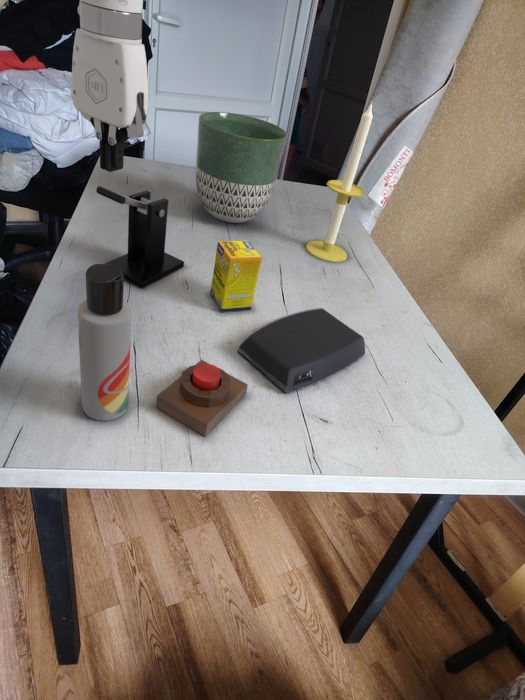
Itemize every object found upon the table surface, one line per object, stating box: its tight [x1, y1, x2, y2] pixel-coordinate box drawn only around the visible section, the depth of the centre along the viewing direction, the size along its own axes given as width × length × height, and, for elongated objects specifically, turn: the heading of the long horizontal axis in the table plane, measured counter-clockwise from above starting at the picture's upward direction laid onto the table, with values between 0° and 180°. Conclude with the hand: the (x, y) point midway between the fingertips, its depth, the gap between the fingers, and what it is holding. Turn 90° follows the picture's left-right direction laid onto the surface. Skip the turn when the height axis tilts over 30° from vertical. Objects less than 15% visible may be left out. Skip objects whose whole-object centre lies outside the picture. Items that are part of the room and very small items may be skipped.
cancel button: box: [192, 363, 221, 391], centre depth 63 cm, size 4×4×2 cm
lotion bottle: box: [77, 263, 132, 422], centre depth 56 cm, size 6×6×20 cm
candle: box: [305, 101, 374, 263], centre depth 103 cm, size 10×10×32 cm
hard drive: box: [236, 307, 366, 393], centre depth 78 cm, size 13×19×4 cm
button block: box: [155, 359, 249, 437], centre depth 65 cm, size 10×8×4 cm
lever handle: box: [95, 185, 154, 215], centre depth 79 cm, size 12×5×2 cm, turn 150°
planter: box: [195, 111, 288, 224], centre depth 110 cm, size 20×20×21 cm
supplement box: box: [209, 239, 263, 313], centre depth 84 cm, size 6×6×11 cm
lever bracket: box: [104, 189, 185, 290], centre depth 86 cm, size 12×9×14 cm
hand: (111, 168), depth 72 cm, fingers closed
